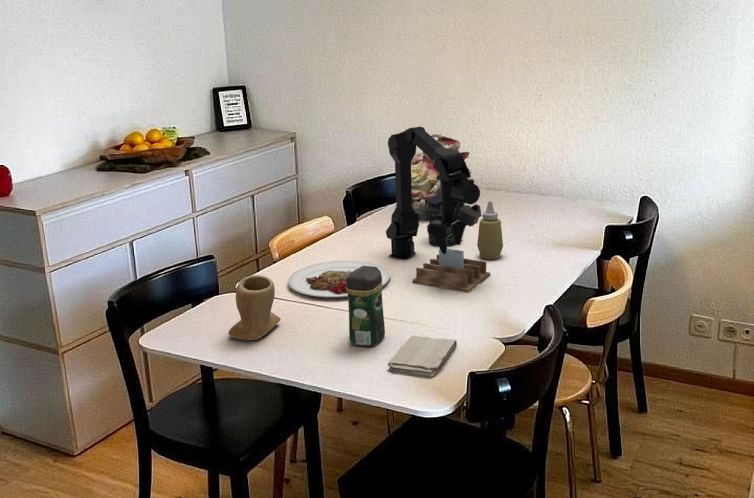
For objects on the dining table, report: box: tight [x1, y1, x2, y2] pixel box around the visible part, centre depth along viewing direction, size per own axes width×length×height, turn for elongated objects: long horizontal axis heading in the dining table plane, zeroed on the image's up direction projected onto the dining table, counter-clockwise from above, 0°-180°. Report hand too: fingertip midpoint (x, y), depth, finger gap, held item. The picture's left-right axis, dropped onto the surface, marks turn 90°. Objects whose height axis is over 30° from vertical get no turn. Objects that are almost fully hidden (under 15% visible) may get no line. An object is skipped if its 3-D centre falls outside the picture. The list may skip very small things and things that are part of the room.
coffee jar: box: [346, 266, 386, 348], centre depth 206 cm, size 10×8×19 cm
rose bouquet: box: [411, 134, 472, 222], centre depth 308 cm, size 26×29×30 cm
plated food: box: [287, 260, 391, 298], centre depth 248 cm, size 30×30×3 cm
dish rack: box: [411, 254, 491, 293], centre depth 246 cm, size 18×15×4 cm
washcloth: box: [387, 335, 458, 378], centre depth 198 cm, size 12×18×3 cm, turn 159°
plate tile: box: [438, 248, 465, 269], centre depth 245 cm, size 7×2×8 cm, turn 59°
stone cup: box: [227, 274, 281, 341], centre depth 215 cm, size 15×12×15 cm
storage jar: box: [427, 196, 457, 248], centre depth 278 cm, size 10×10×15 cm
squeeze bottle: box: [476, 200, 504, 260], centre depth 262 cm, size 8×8×18 cm
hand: (451, 249), depth 244 cm, fingers open, 9 cm apart
